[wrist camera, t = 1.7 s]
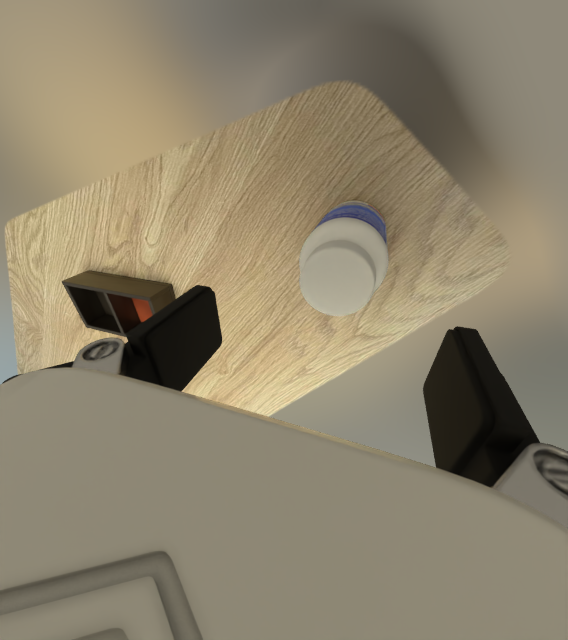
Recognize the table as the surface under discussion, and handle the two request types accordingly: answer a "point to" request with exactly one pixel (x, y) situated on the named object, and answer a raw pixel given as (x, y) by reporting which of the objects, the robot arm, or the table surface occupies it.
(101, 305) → the brown wooden tray
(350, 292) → the pill bottle
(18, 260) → the table surface
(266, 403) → the table surface
